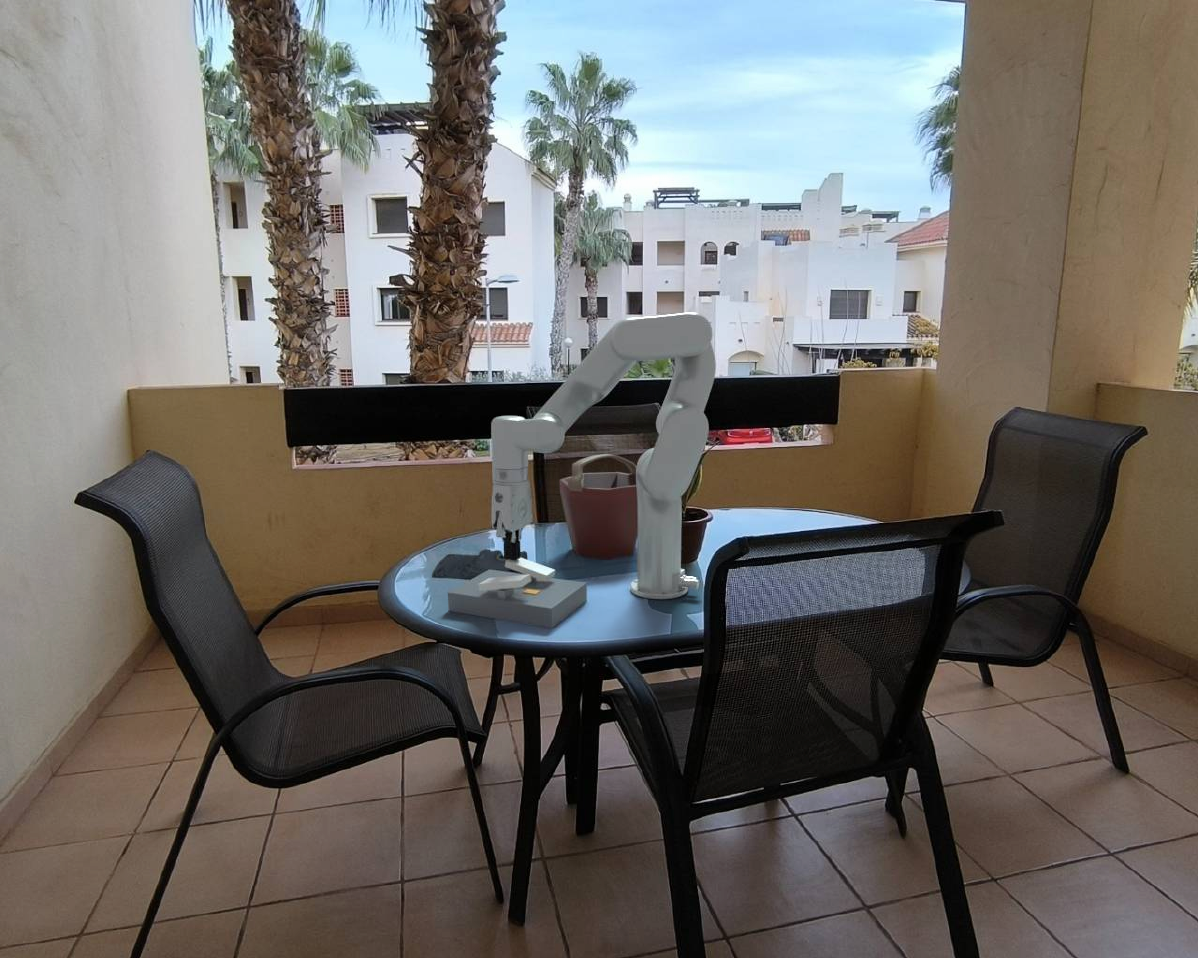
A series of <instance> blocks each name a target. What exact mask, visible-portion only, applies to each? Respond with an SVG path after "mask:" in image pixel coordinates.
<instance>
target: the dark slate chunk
mask: <svg viewBox="0 0 1198 958" xmlns="http://www.w3.org/2000/svg"><path fill="white" fill-rule="evenodd" d="M520 556H521V558H524V559H526V560H529V559H528V552H527V551H526V550H524V551H523V550H522V551H520ZM506 560H508V559H505V558H504V553H503V552H502V550H491V549H486V548H485V549H483V550H480V551H479V552H478V554H461V553H460V554H459V553H447V554H446V555H445V556H444V557H442V559H441V560H439V562H438V563H437V565H436V566H435V568H434V570H433V571H432V578H435V579H453V580H467V581H469V580H471V579H473V578H475V577H477V576H478V575H480V574H482V573H484V572H486V571H488V570H489V569H490V570H497V571H504V572H511V573H519V574H523V573H521V572H518V571H515V570H513V569H510V568H507V567H505V563H506Z"/></svg>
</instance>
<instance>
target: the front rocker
mask: <svg viewBox="0 0 1198 958" xmlns="http://www.w3.org/2000/svg"><path fill="white" fill-rule="evenodd" d="M529 582H531V577H530V574H528V575H518V576H507V577H496V578H488V579H487V580H485V581H483V582H481V583H479V584H478V586H479V590H480V591H484V590H495V589H507V588H519V587H523V586H524V585H526V584H527V583H529Z"/></svg>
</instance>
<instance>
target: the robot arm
mask: <svg viewBox="0 0 1198 958" xmlns="http://www.w3.org/2000/svg"><path fill="white" fill-rule="evenodd" d="M712 339H713V328H712V324H711V322H709V320H708V319H707V318H706V317H705V316H704V315H702V314H701V313H698V312H691V311H690V312H682V313H674V314H665V315H664V314H663V315H655V316H643V317H642V316H641V317H625V318H622V319H620V320H619V321H617V322H615V324H614V325H612V327H611V328H610V329H609V330H608V331H607V332H606V333H605V335H604V336H603V337H602V338H601V339H600V341H598V342H597V344H596V345H595V346H594V347H593V348H592V349H591V350H590V351H589V353H588V354H587V355H586V356H585V357H584V359H582V360H581V362H580V363H579V364H578V365H577V366H576V367H575V368H574V369H573V370H572V372H571V373H570V374H569V376H568V377H567V378H566V380H565V381H564V382H563V383H562V385H561V386H560V387H558V389H557V390H556V391H555V392H554V393H553V394H552V396H551V397H550V398H549V399H548V400H547V401H546V402H545V403H544V405H542V406H541V408H540V409H539V410H538V411H537V413H536V414H535V415H534V416H533V417H532V418H527V419H526V418H525V417H524V416H520V415H519V416H518V415H501V416H496V417H494V418H493V419H492V420H491V425H490V427H491V428H490V430H491V432H490V435H491V466H492V468H491V470H492V474H491V475H492V483H493V485H492V493H491V494H492V495H491V509H490V510H491V526H492V529H494V530H495V532H496V533H495V536H496V538H501V540H502V541H501V542H503V556H504V558H505V559H509V560H518V559H519V558H520V557H521V556H520V552H521V541H522V533H523V530H524V528H525V527H527V526H529V525H530V524H531V523H532V522H533V519H534V517H533V514H534V513H533V512H534V511H533V498H532V489H531V483H530V479H529V452H532V453H541V454H551V453H554V452H556V451H557V450H559V449H561V447H562V446H563V444H564V441H565V436H566V435H565V434H566V433H567V431H568V430H569V429H570V428H571V427H572V425H573V424H574V423H575V422H576V421H577V420H578V419H579V418H580V417H581V416H582V415H583V414H584V413H585V412H586V411H587V410H589V408H590V407H592V406H593V405H595V404H597V403H599V402H601V401H602V400H603V399H604V398H605V397H607V396H608V395H609V394H610V392H611V391H612V390H613V389H614V388H615V387H616V385H618V383H620V381H621V380H622V379H623V378H624V377H625V375H626V374H627V373H628V372H629V371H630V370H631V369H632V368H633V367H634V366H635V365H636V363H637V362H646V361H658V360H667V359H668V360H669V359H674V371H673V373H672V377H671V381H670V384H669V388H668V390H667V393H666V395H665V397H664V400H663V402H662V405H661V407H660V409H659V411H658V414H657V416H656V421H655V427H656V431H657V433H658V437H657V439H656V442H655V445H654V447H652V448H649V449H648V450H646V451H644V453H642V454H641V455H640V457H639V458H638V461H637V463H636V466H637V467H636V487H637V514H638V521H637V541H636V547H637V550H636V551H637V552H636V553H637V556H636V557H637V561H636V562H637V570H636V571H637V578H636V579H634V580H632V581H631V582H630V586H629V587H630V588H629V589H630V591H631V593H632V594H634V595H636V596H638V597H641V598H645V599H651V600H670V599H676V598H680V597H682V596H684V595H686V594H687V592H688V591H689V589H695V590H698V589H699V586H700V580H699V579H698V578H697V577H695V576H687V574H685V572H686V571H685V569H684V568H682V566H681V565H682V563H681V562H682V518H683V517H682V513H683V511H682V496H683V495H684V494H685V493H686V492H687V489H689V487H690V484H691V482H692V481H693V478H694V475H695V472H696V470H697V468H698V465H699V463H700V460H701V458H702V455H703V452H704V449H705V446H706V443H707V441H708V436H709V429H710V427H709V425H710V424H709V420H708V418H707V416H706V414H705V413H704V412H705V409H706V405H707V403H708V400H709V397H710V393H711V391H712V387H713V385H714V383H715V382H714V380H715V378H716V368H717V366H716V365H717V363H716V355H715V351H714V347H713V345H712Z"/></svg>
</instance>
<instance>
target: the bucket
mask: <svg viewBox="0 0 1198 958" xmlns="http://www.w3.org/2000/svg"><path fill="white" fill-rule="evenodd" d="M606 458H611V459H614V460H617V461H619V462H621V463H623V464H625V465H626V467H627V468H628V469H629V471H630V473H626V472H620V471H615V472H612V471H611V472H587V473H586V472H584V467H585V466H586V465H588V464H590V463H592V462H594V461H597V460H600V459H606ZM636 467H637V464H635V463H634V462H633V461H630V460H628V459H627V458H624V457H622V456H619V455H615V454H610V453H609V454H608V453H605V454H603V453H602V454H596V455H595V454H594V455H590V456H587V457H584V458H581V459H578V460H577V461H575V462H573V463H572V464H571V476H568V477H564V478H561V479H559V494H560V498H561V503H562V507H563V511H564V516H565V517H564V518H565V522H566V526H567V531H568V536H569V540H570V541H569V542H570V545H571V549H572V550H573V551H574V552H575V553H576V554H577V555H578V556H579V557H580V558H589V559H598V560H613V559H617V558H618V559H619V558H623V557H629V556H633V555H634V553H635V549H636V547H637V521H638V514H637V487H636ZM635 546H636V547H635Z"/></svg>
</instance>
